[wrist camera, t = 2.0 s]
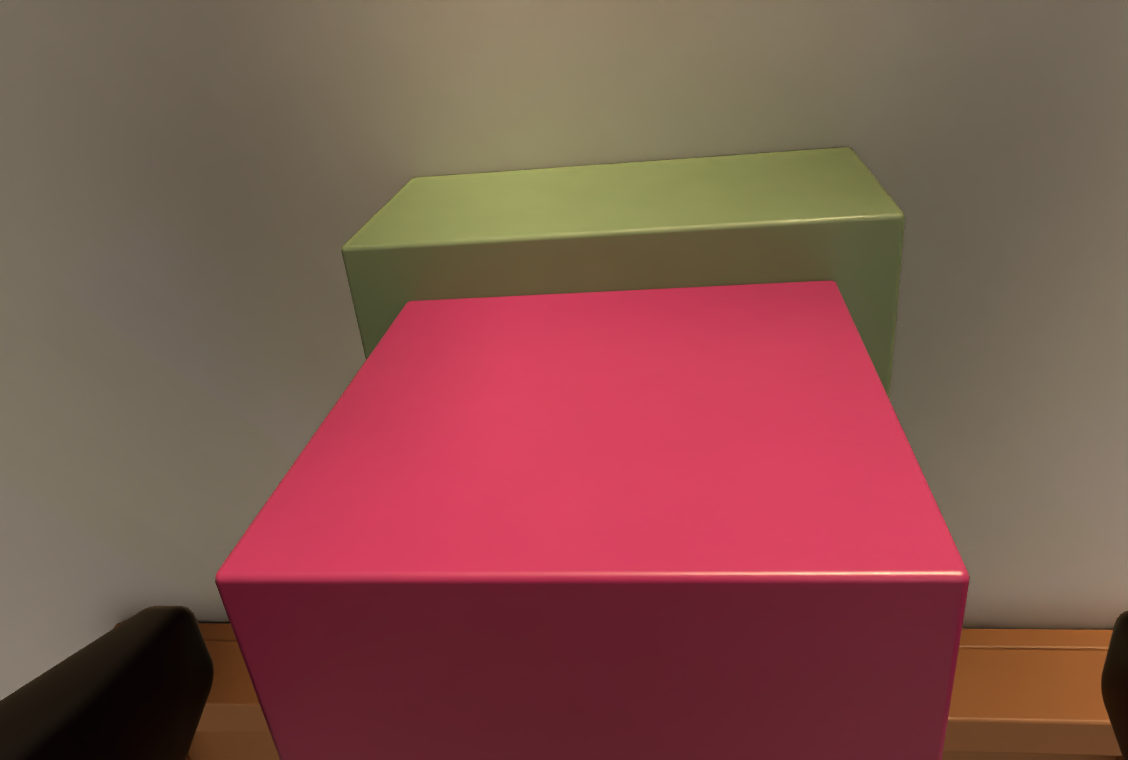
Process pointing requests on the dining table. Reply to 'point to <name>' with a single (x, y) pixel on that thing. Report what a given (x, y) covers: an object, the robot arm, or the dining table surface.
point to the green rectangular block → (637, 235)
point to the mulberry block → (606, 542)
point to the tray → (975, 723)
